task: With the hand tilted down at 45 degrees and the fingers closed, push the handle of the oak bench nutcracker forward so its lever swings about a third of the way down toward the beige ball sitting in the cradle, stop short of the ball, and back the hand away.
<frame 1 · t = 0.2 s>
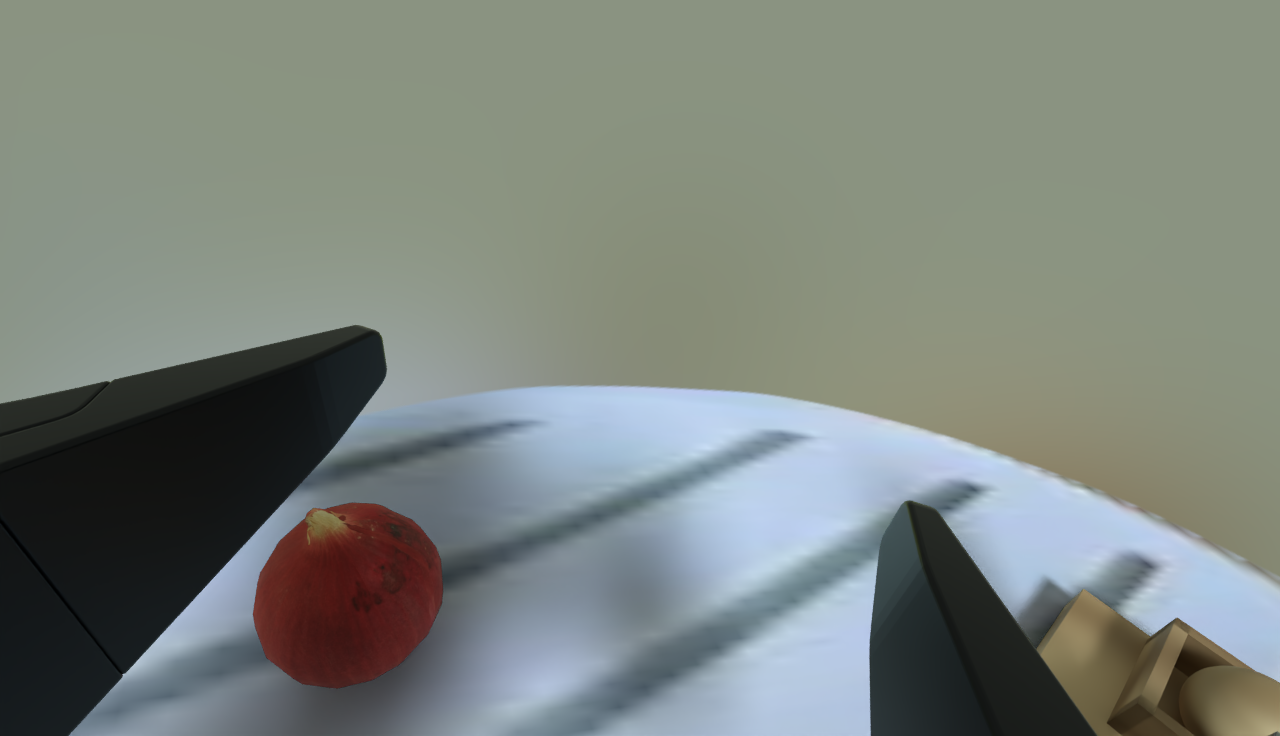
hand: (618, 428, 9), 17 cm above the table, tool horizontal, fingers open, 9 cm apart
onion: (372, 645, 22), on the table
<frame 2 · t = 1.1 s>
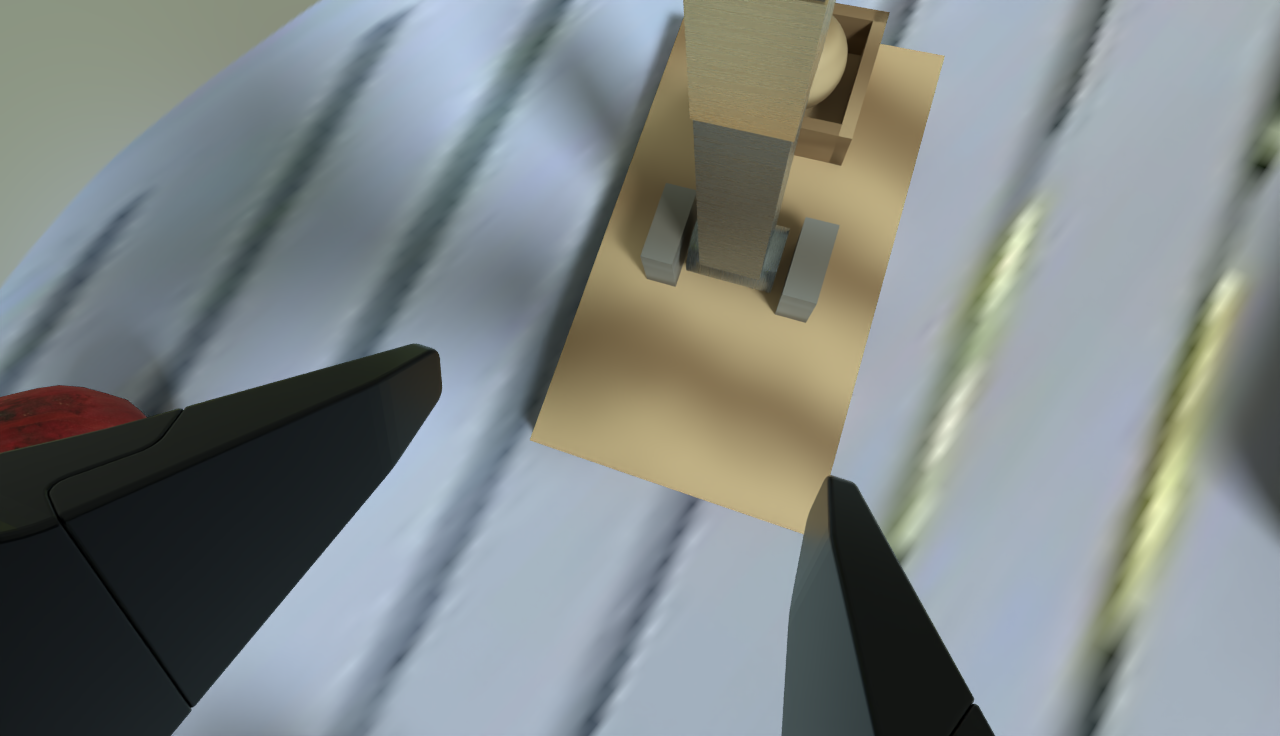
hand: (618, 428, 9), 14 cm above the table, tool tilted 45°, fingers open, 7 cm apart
beige ball: (791, 91, 24), point 1 cm above the table, touching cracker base
lever: (762, 117, 16), point 9 cm above the table, hinge at 0.0°
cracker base: (734, 279, 24), on the table
onion: (155, 466, 26), on the table
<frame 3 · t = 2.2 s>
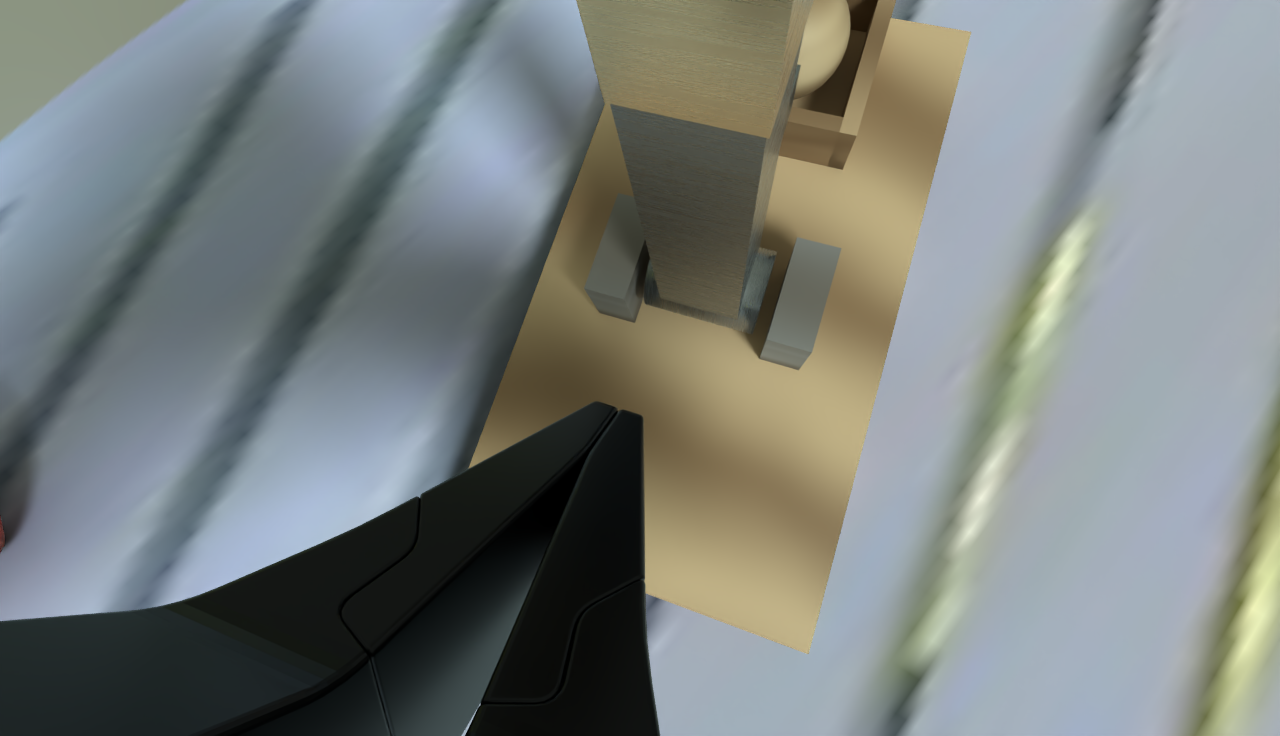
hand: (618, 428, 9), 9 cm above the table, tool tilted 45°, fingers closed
beige ball: (780, 77, 19), point 1 cm above the table, touching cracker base
lever: (732, 105, 11), point 9 cm above the table, hinge at 0.0°
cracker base: (710, 310, 19), on the table
onion: (5, 539, 21), on the table
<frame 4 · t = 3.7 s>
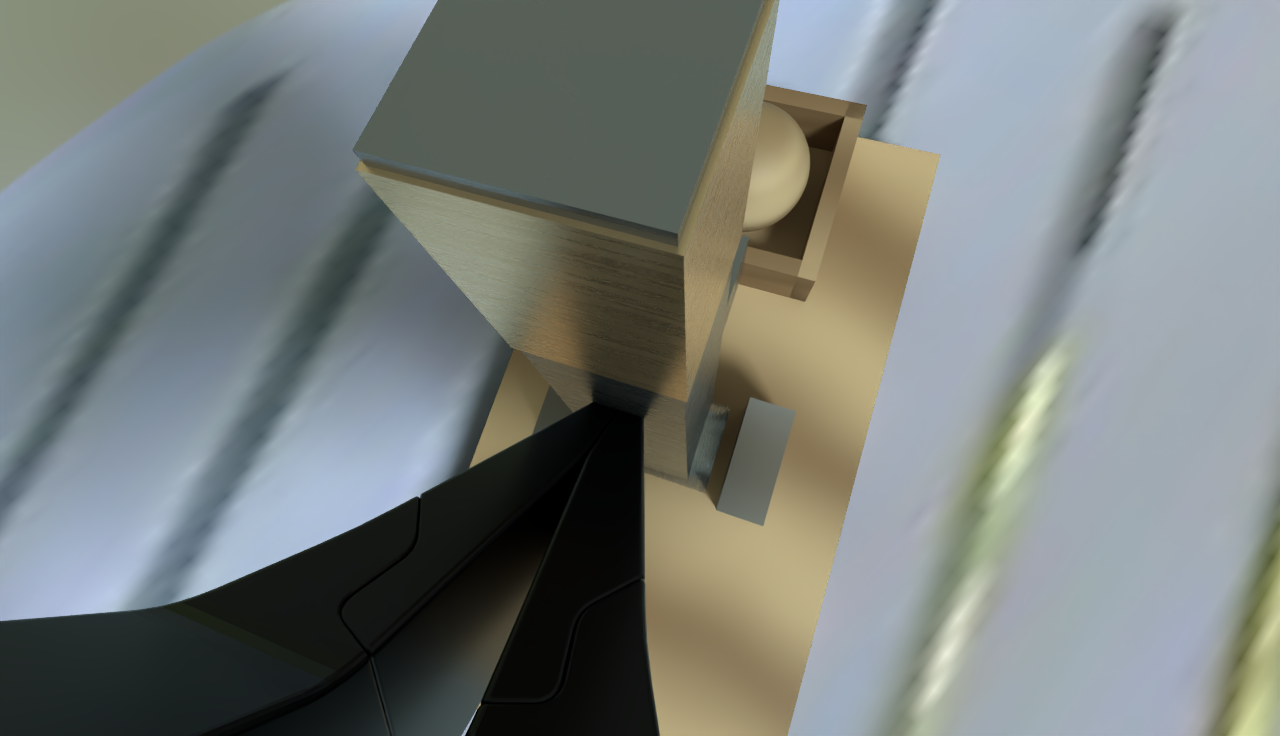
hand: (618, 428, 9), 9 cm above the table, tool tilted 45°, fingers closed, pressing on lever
beige ball: (742, 198, 18), point 1 cm above the table, touching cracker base
lever: (672, 296, 11), point 8 cm above the table, hinge at 6.6°, touching gripper
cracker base: (669, 440, 19), on the table
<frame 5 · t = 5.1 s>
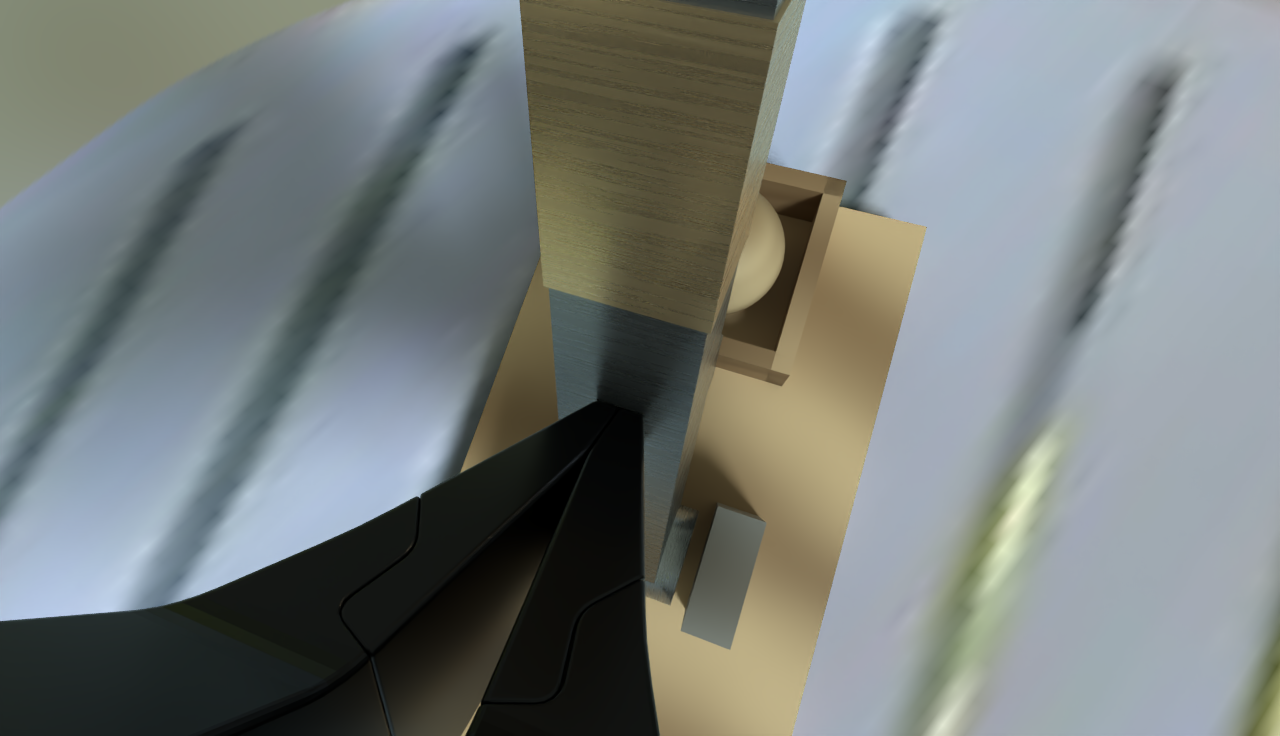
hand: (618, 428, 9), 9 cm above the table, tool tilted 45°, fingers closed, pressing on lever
beige ball: (716, 272, 17), point 1 cm above the table, touching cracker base
lever: (663, 345, 11), point 7 cm above the table, hinge at 32.4°, touching gripper
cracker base: (640, 526, 18), on the table
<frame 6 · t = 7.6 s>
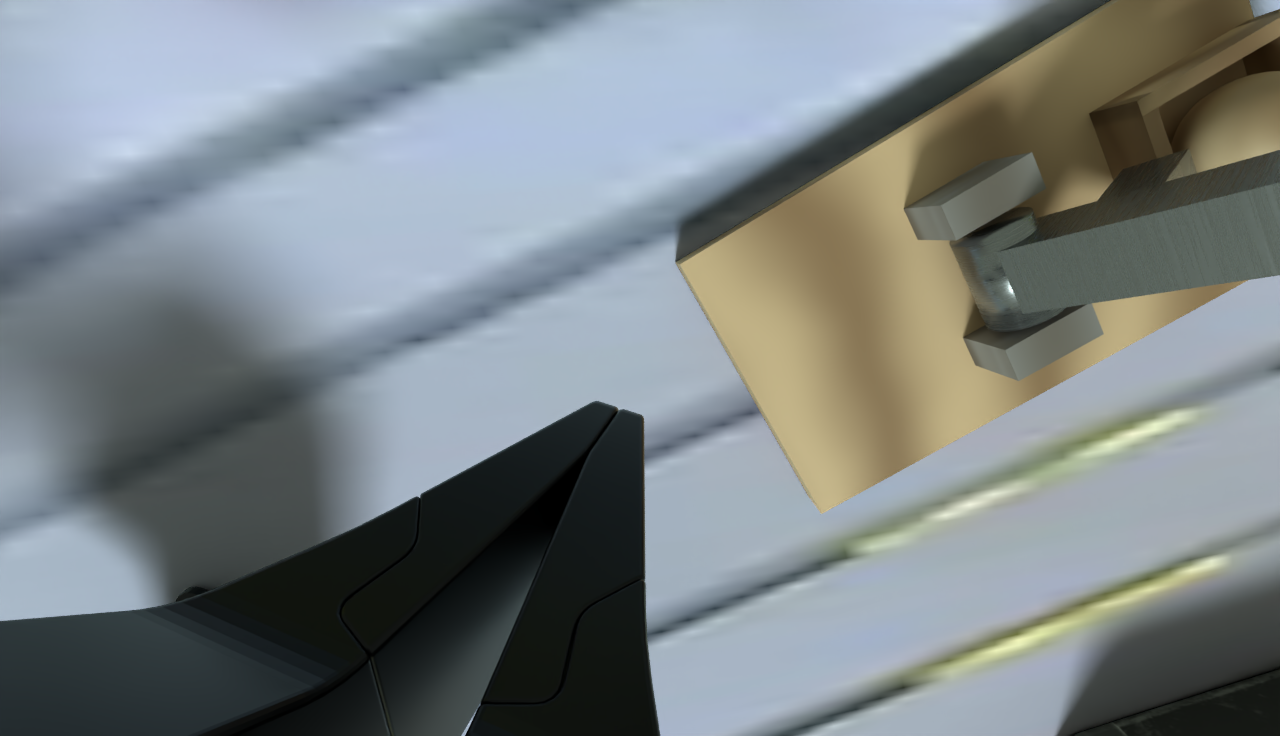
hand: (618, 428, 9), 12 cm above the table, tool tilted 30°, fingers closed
beige ball: (1193, 145, 19), point 1 cm above the table, touching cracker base
lever: (1269, 190, 14), point 7 cm above the table, hinge at 32.5°
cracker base: (954, 265, 21), on the table
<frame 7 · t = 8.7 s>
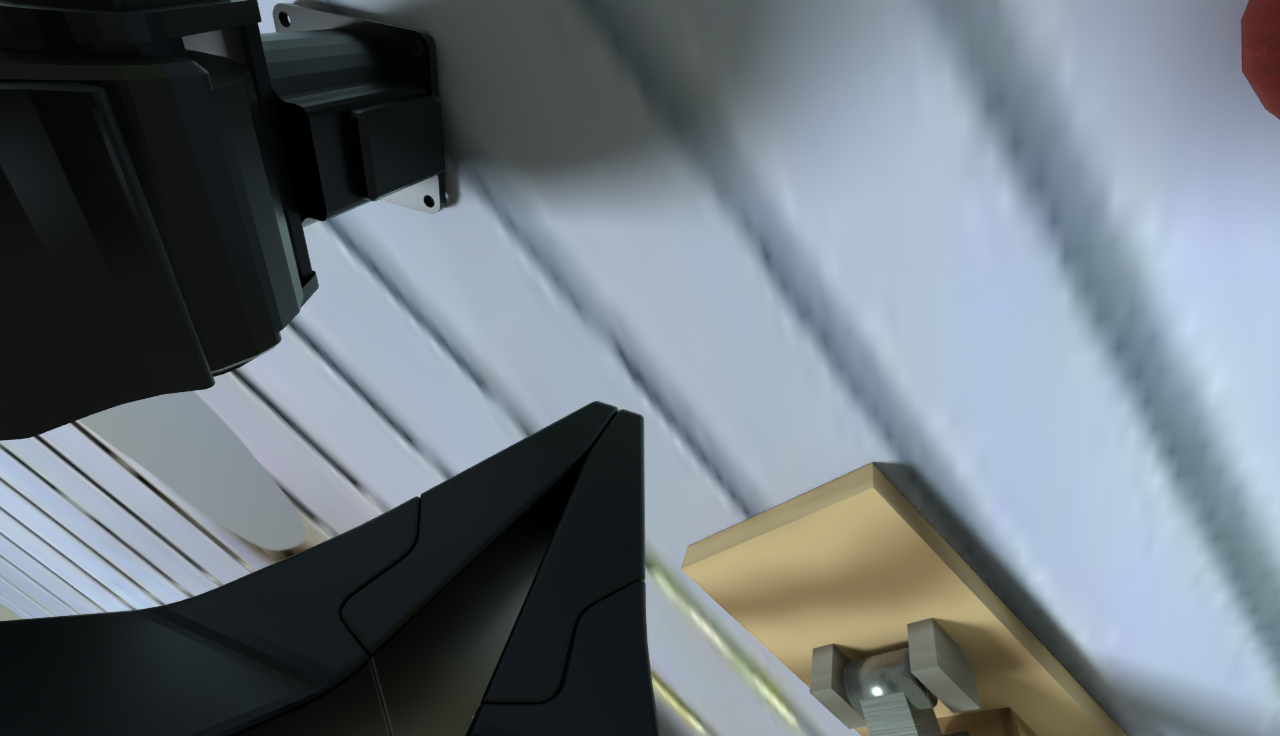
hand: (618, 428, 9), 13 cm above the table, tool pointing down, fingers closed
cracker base: (886, 625, 29), on the table
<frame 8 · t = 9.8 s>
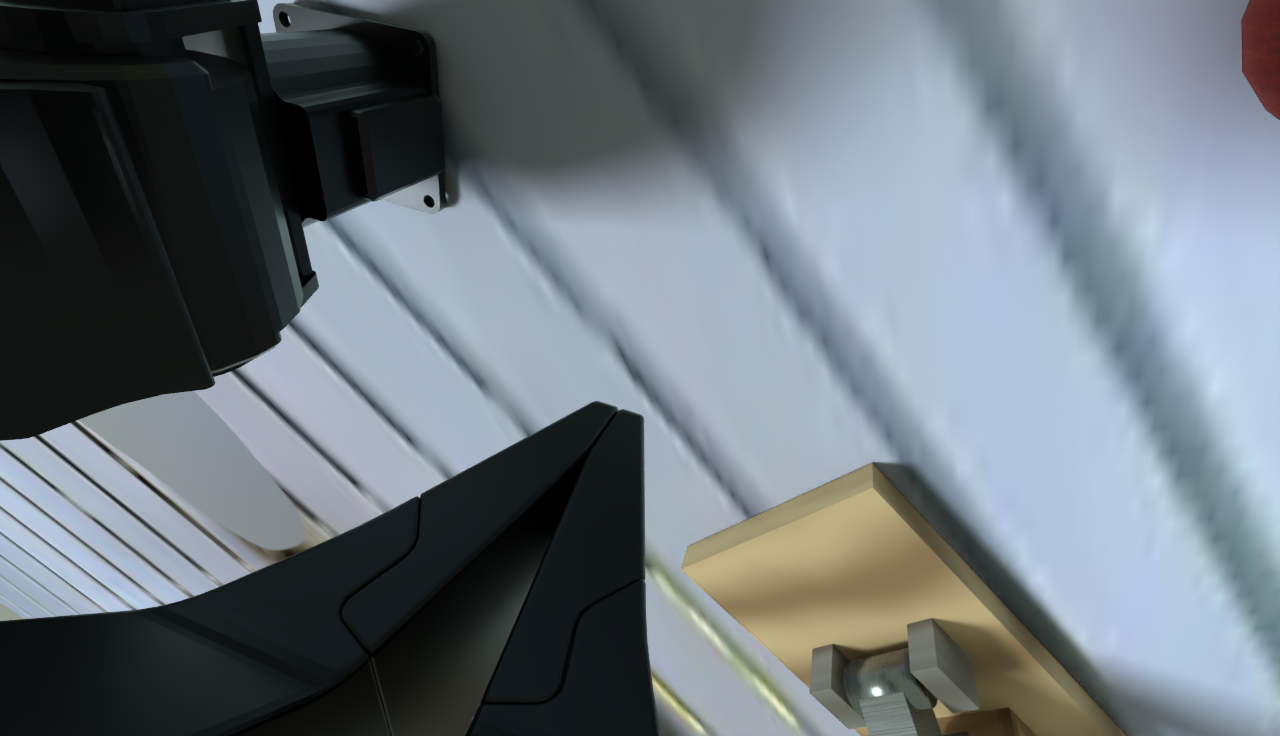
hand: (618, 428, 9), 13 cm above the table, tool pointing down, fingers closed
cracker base: (886, 625, 29), on the table
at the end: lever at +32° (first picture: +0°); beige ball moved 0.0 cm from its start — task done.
